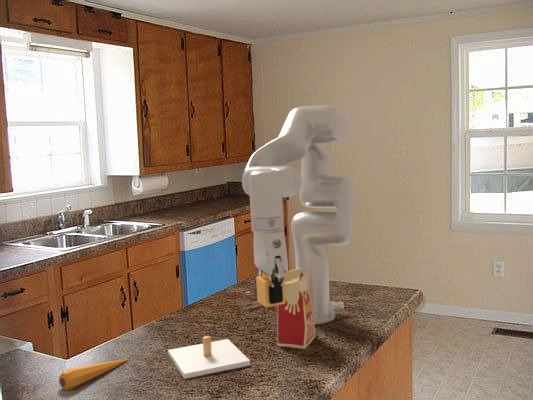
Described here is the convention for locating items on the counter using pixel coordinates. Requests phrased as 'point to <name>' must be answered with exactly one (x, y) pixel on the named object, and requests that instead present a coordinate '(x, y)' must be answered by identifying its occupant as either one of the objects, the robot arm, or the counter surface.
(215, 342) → the white plate
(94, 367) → the carrot
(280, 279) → the robot arm
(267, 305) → the gold domed block
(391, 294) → the counter surface
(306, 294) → the milk carton
